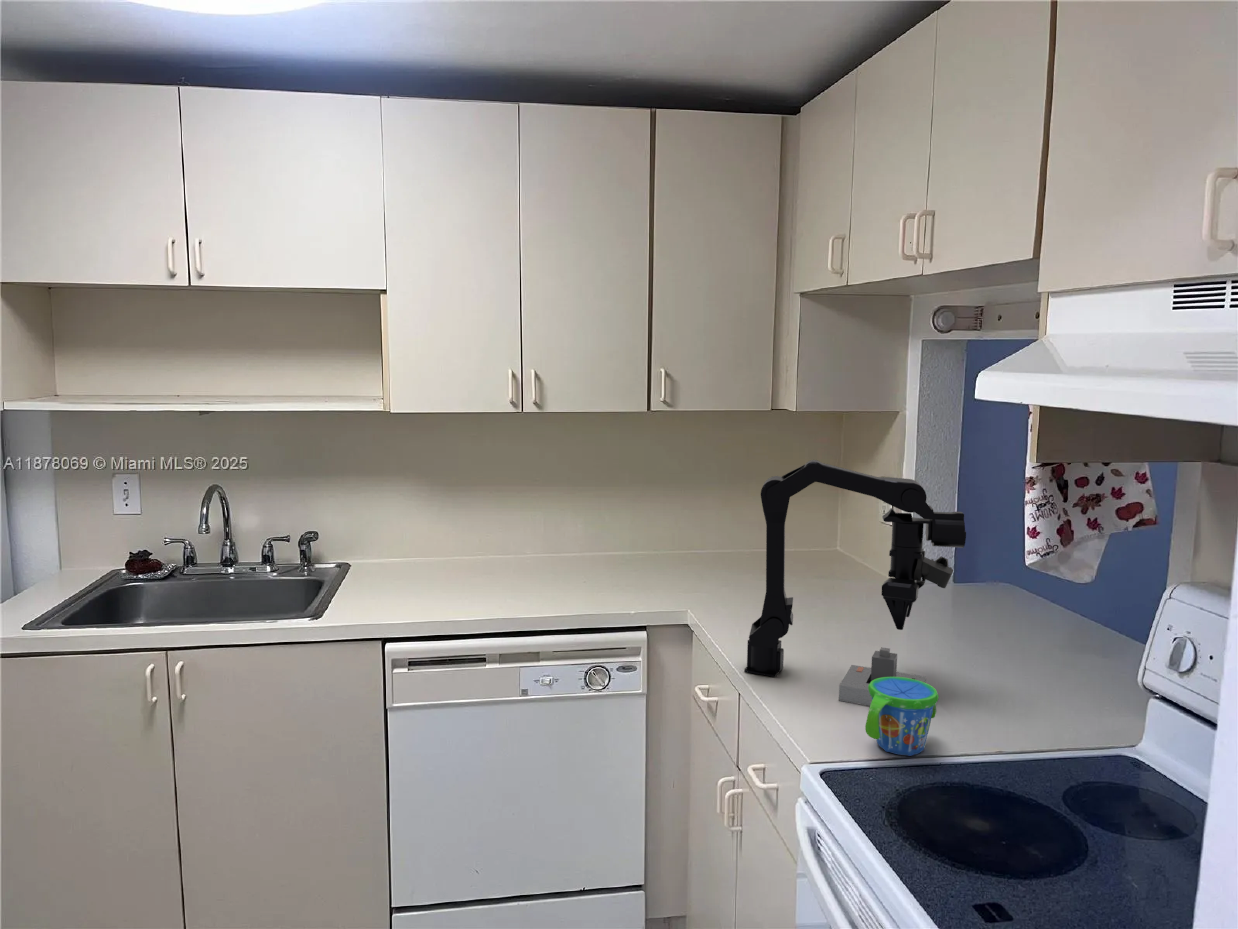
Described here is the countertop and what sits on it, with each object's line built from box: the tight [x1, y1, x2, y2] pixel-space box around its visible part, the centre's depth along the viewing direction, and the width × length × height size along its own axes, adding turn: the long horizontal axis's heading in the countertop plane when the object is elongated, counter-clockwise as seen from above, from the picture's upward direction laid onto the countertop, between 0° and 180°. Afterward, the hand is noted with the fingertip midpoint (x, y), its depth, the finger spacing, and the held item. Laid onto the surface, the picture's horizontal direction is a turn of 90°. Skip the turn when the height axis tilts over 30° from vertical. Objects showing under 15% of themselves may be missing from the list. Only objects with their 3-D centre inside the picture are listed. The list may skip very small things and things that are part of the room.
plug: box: [870, 647, 898, 681], centre depth 160 cm, size 4×4×9 cm
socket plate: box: [838, 664, 927, 707], centre depth 160 cm, size 14×12×3 cm
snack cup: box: [864, 677, 939, 757], centre depth 138 cm, size 16×10×10 cm
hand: (903, 623), depth 166 cm, fingers open, 9 cm apart
